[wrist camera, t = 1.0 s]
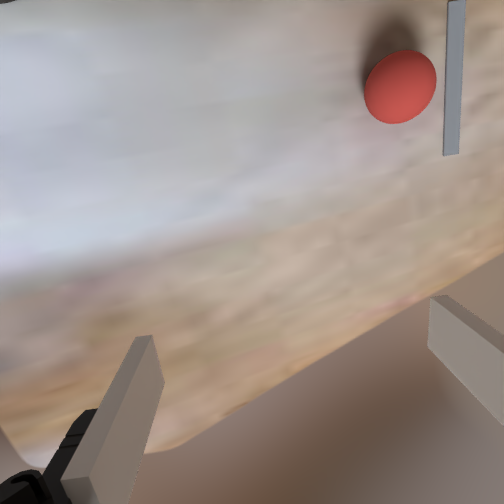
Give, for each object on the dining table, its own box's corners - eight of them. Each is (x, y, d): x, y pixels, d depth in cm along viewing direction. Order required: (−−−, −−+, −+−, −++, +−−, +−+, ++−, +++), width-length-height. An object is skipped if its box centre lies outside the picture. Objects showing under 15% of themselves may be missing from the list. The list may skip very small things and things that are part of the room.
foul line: (447, 2, 30) (448, 1, 29) (464, 0, 30) (465, -1, 29) (442, 156, 34) (444, 156, 34) (457, 153, 34) (458, 153, 34)
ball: (353, 66, 31) (379, 46, 25) (413, 56, 31) (453, 34, 25) (356, 130, 33) (381, 125, 27) (413, 121, 33) (450, 114, 27)
